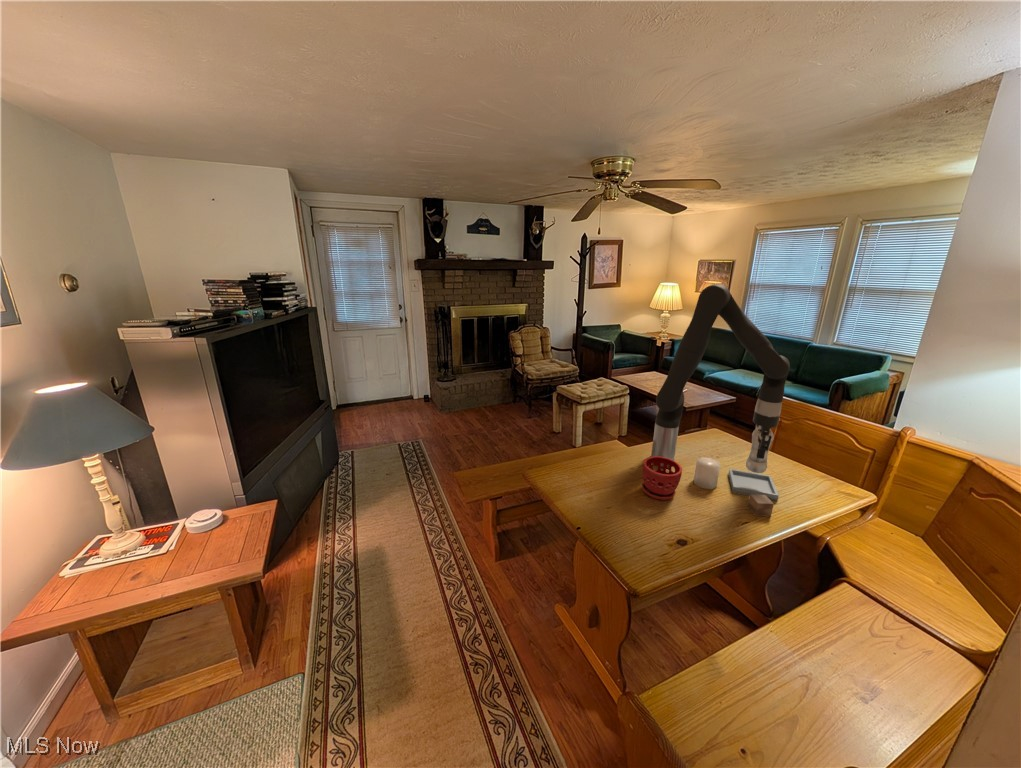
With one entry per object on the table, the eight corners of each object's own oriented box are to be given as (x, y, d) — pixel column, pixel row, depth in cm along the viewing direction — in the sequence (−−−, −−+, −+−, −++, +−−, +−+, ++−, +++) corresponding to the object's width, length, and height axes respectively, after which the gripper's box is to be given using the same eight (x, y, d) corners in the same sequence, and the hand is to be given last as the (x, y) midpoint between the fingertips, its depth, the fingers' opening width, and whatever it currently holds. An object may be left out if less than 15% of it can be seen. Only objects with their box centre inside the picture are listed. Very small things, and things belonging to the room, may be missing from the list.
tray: (732, 492, 138) (733, 486, 137) (728, 473, 150) (729, 468, 150) (777, 501, 133) (778, 495, 132) (769, 481, 145) (770, 475, 144)
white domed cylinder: (693, 486, 142) (697, 465, 140) (693, 475, 149) (696, 455, 147) (717, 490, 139) (721, 469, 137) (715, 480, 146) (719, 459, 143)
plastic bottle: (740, 467, 142) (750, 418, 136) (757, 466, 143) (767, 417, 137) (752, 476, 136) (763, 425, 130) (770, 475, 137) (781, 424, 131)
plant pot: (634, 494, 138) (637, 465, 134) (649, 479, 147) (652, 452, 143) (669, 508, 130) (674, 478, 126) (683, 492, 139) (687, 463, 135)
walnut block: (755, 515, 126) (758, 503, 124) (747, 506, 130) (750, 494, 129) (770, 516, 125) (773, 503, 124) (762, 507, 130) (765, 494, 128)
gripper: (751, 403, 140) (743, 444, 145) (758, 417, 127) (749, 461, 133) (775, 406, 137) (766, 447, 142) (784, 420, 124) (774, 465, 130)
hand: (758, 453), depth 137 cm, fingers closed on plastic bottle, 6 cm apart
